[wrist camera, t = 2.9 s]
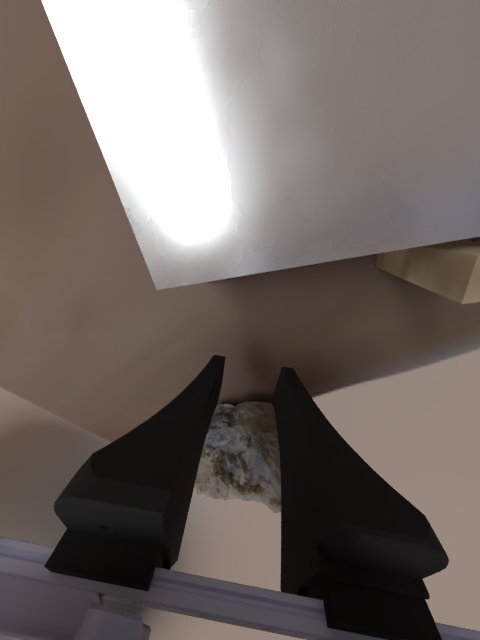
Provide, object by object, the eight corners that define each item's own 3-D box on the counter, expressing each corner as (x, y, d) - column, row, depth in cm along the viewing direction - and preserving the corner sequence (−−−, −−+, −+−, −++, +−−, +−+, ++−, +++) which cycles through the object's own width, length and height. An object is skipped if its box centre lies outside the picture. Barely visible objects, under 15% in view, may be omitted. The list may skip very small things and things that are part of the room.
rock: (351, 550, 10) (308, 462, 19) (338, 416, 11) (305, 397, 21) (141, 519, 11) (199, 452, 21) (157, 405, 13) (203, 392, 22)
